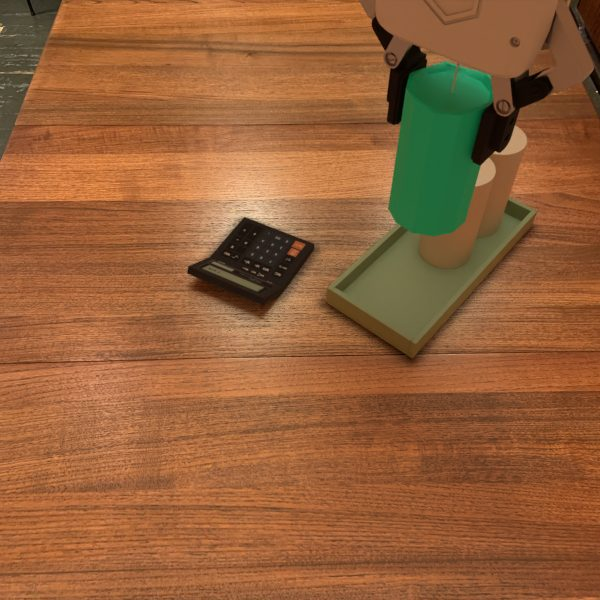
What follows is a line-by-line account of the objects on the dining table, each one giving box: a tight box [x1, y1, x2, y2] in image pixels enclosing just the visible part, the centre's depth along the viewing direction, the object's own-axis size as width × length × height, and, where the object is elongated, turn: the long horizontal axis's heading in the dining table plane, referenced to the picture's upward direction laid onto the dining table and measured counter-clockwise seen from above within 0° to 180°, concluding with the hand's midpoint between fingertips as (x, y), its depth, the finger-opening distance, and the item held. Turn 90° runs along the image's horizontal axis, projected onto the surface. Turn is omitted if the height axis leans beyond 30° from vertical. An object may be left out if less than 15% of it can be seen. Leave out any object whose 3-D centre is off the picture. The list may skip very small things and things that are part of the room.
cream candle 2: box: [477, 124, 528, 238], centre depth 73 cm, size 6×6×12 cm
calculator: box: [186, 216, 315, 307], centre depth 73 cm, size 9×12×3 cm
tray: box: [325, 196, 538, 359], centre depth 73 cm, size 11×25×2 cm, turn 139°
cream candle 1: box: [418, 158, 496, 269], centre depth 70 cm, size 6×6×12 cm
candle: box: [387, 60, 493, 237], centre depth 45 cm, size 6×6×12 cm
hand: (443, 131), depth 44 cm, fingers closed on candle, 5 cm apart
